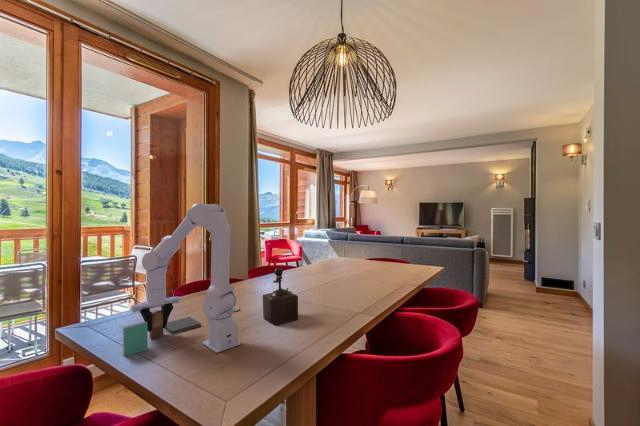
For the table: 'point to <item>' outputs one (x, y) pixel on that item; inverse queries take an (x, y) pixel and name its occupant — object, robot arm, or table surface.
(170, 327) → the mat
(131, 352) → the tile
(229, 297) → the robot arm
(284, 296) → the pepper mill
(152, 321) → the peg
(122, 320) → the table surface
